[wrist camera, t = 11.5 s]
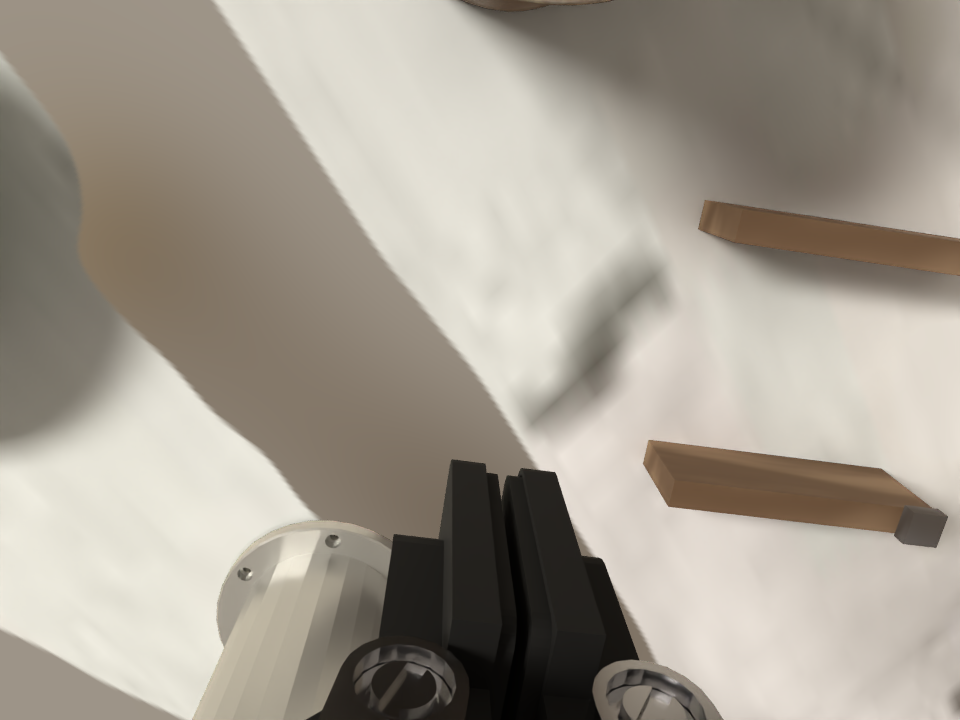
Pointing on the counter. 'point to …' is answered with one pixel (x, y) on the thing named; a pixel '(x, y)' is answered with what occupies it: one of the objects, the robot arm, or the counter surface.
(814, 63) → the counter surface
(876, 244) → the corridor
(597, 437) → the counter surface
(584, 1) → the plant pot
